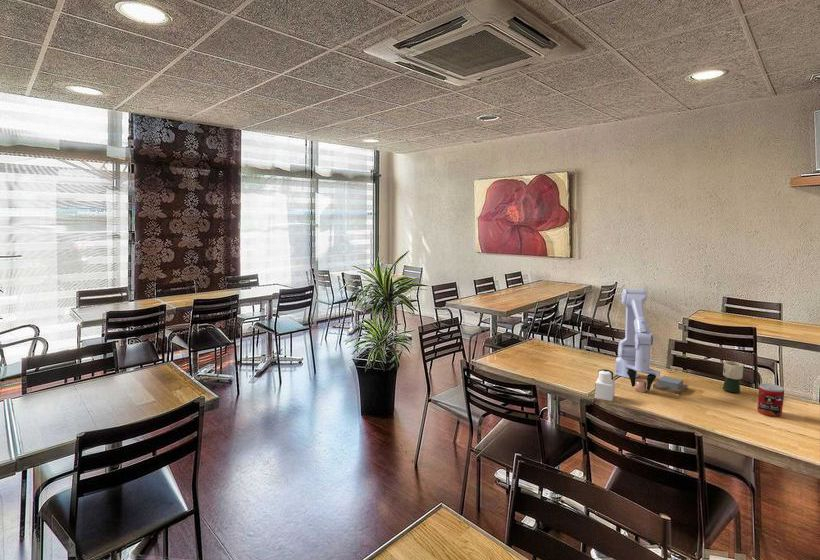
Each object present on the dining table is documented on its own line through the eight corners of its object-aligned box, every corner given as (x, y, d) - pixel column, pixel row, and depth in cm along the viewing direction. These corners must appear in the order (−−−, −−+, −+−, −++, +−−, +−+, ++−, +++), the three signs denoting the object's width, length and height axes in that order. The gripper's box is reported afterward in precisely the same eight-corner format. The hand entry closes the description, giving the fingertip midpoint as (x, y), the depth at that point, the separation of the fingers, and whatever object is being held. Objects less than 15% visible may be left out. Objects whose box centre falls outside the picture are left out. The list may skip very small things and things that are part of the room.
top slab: (657, 384, 202) (658, 379, 201) (663, 380, 207) (664, 375, 207) (677, 389, 196) (677, 383, 196) (683, 384, 201) (683, 379, 201)
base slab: (652, 389, 202) (652, 384, 202) (661, 383, 210) (661, 378, 209) (679, 396, 194) (679, 391, 194) (687, 390, 202) (687, 384, 201)
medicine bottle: (596, 392, 197) (598, 367, 196) (614, 395, 194) (615, 369, 192) (594, 398, 191) (595, 371, 190) (612, 401, 188) (613, 374, 186)
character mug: (725, 386, 204) (728, 359, 203) (744, 390, 199) (747, 362, 197) (717, 392, 197) (720, 364, 196) (736, 396, 192) (739, 367, 190)
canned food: (755, 413, 175) (757, 386, 173) (758, 407, 180) (761, 381, 179) (780, 419, 169) (783, 392, 168) (782, 413, 175) (785, 386, 174)
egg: (633, 390, 199) (634, 381, 199) (637, 388, 202) (637, 379, 202) (643, 393, 196) (644, 383, 196) (647, 391, 199) (648, 381, 198)
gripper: (622, 357, 200) (620, 385, 202) (656, 364, 189) (654, 394, 191) (628, 354, 205) (626, 382, 206) (662, 361, 194) (660, 390, 196)
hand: (640, 387), depth 199 cm, fingers open, 6 cm apart
